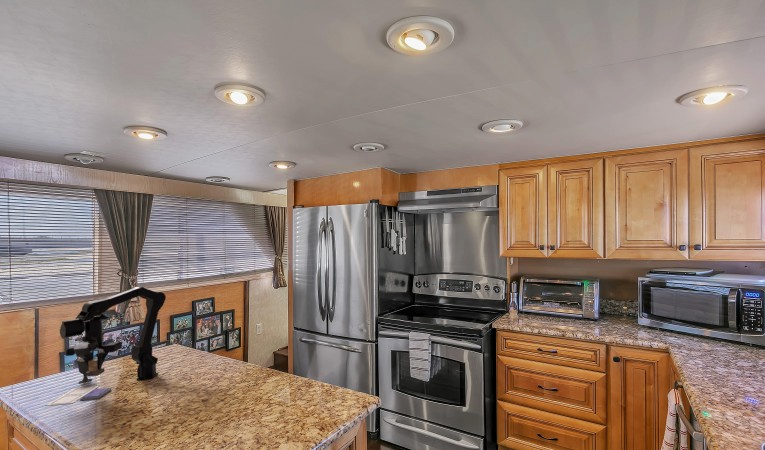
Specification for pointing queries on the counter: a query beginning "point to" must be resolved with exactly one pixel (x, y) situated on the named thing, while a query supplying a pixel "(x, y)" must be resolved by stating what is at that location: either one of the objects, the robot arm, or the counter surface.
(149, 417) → the counter surface
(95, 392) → the ink pad
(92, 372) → the stamp
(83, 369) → the sundae
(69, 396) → the form sheet
